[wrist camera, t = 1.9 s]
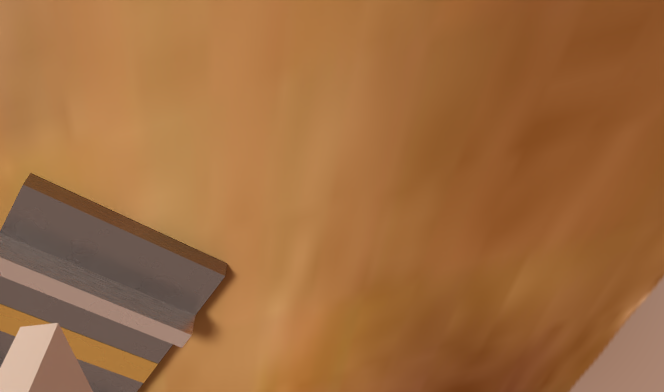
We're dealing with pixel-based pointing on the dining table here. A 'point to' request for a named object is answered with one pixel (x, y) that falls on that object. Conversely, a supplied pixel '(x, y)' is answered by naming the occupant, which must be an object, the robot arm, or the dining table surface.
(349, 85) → the dining table surface
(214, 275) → the rail board
